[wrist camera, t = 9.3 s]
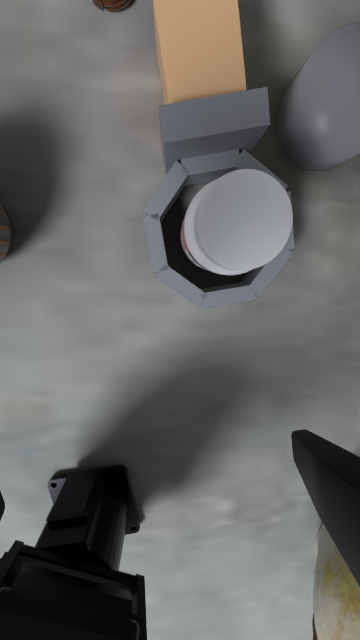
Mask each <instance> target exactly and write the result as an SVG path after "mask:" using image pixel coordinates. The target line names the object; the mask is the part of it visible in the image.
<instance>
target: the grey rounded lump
mask: <svg viewBox="0 0 360 640" xmlns="http://www.w3.org/2000/svg"><path fill="white" fill-rule="evenodd" d="M277 134H278V139H279V142H280V144H281V147H282V149H283V151H284V152H285V154H286V155H287V156H288V158H289V159H290V160H291V161H292V162H294V163H295V164H296V165H298V166H300V167H302V168H304V169H307V170H312V171H324V170H328V169H332V168H334V167H336V166H338V165H340V164H342V163H344V162H345V161H347V160H349V159H351V158H353V157H354V156H356V155H358V154H360V23H353V24H349V25H345V26H343V27H341V28H339V29H337V30H335V31H334V32H332V33H331V34H329V35H328V36H327V37H326V38H324V39H323V40H322V42H321V43H320V44H319V45H318V46H317V47H316V49H315V50H314V51H313V53H312V54H311V56H310V57H309V59H308V60H307V61H306V63H305V64H304V66H303V67H302V69H301V70H300V72H299V73H298V75H297V76H296V78H295V79H294V80H293V82H292V83H291V85H290V86H289V88H288V89H287V91H286V92H285V94H284V96H283V98H282V100H281V103H280V106H279V109H278V114H277Z"/></svg>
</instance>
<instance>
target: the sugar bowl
mask: <svg viewBox="0 0 360 640" xmlns="http://www.w3.org/2000/svg"><path fill="white" fill-rule="evenodd" d="M313 611H314V613H313V640H360V587H359V585H358V584H357V582H356V580H355V578H354V577H353V575H352V573H351V571H350V570H349V568H348V566H347V564H346V563H345V561H344V559H343V557H342V556H341V554H340V552H339V550H338V549H337V547H336V545H335V543H334V542H333V540H332V538H331V536H330V535H329V533H328V531H327V529H326V528H325V526H324V524H322V526H321V528H320V531H319V535H318V554H317V561H316V568H315V578H314V590H313Z"/></svg>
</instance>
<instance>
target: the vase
mask: <svg viewBox="0 0 360 640" xmlns="http://www.w3.org/2000/svg"><path fill="white" fill-rule="evenodd" d="M10 239H11V230H10V224H9V220H8V217H7V214H6V212H5V210H4V208H3V207H2V205H1V203H0V263H1V261H2V260H3V259H4V257H5V256H6V254H7V251H8V249H9V245H10Z"/></svg>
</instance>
